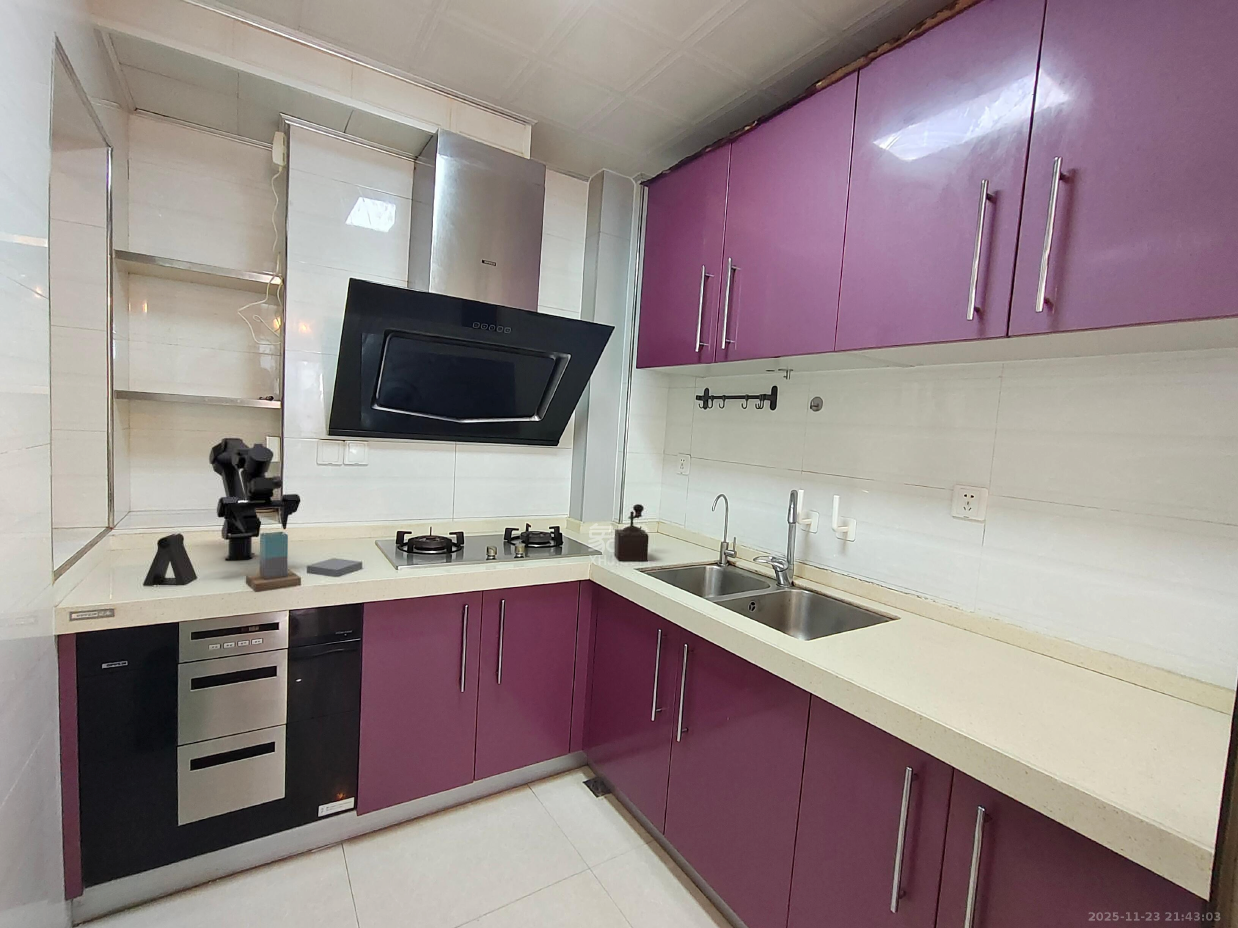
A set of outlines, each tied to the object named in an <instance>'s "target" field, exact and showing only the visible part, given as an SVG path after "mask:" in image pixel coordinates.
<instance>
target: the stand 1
mask: <svg viewBox="0 0 1238 928" xmlns="http://www.w3.org/2000/svg"><path fill="white" fill-rule="evenodd" d="M245 583H246V584H247V585H248V587H250V588H251V589H252V590H253V591H254V592H255V593H257V592H264V591H272V590H279V589H283V588H284V587H285V588H290V587H291V586H292V587H298V586H297V585H299V586H301V585H302V577H301V576H300V575H298V574H296V572H294V571H292V570H291V569H288V568H287V577H283V578H276V579H269V580H264V579H263V578H262V577H261V576H260V572H259V573H258V572H257V573H253V574H252V573H250V574H245ZM285 588H284V589H285Z"/></svg>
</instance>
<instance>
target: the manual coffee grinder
mask: <svg viewBox="0 0 1238 928" xmlns="http://www.w3.org/2000/svg"><path fill="white" fill-rule="evenodd" d="M632 508H633V509H632V511H630V515H629V516H628V517H627V519H629V520H630V525H628V526H626V527H624V528H620V529H615V530H614V541H613V542H614V547H613V548H614V549H613V550H614V552H613V554H614V557H615V559H616V560H617V561H618V562H634V563H635V562H639V563H641V562H643V563H644V562H645V563H646V562H648V561H649V560H648V554H649V553H648V552H649V534H648V533H647V532H646V530H644V529H642V526H640V527H638V526H636V525H634V519H639V518H642V517H643V515H642V514H643V513H642V512H643V511H644V506H643V505H642V504H639V503H638V504H637V503H636V504H634V505H633V506H632Z"/></svg>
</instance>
